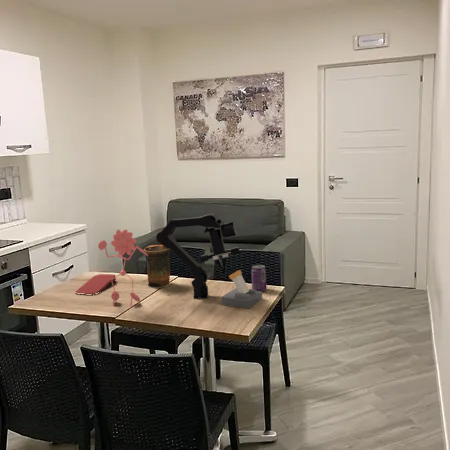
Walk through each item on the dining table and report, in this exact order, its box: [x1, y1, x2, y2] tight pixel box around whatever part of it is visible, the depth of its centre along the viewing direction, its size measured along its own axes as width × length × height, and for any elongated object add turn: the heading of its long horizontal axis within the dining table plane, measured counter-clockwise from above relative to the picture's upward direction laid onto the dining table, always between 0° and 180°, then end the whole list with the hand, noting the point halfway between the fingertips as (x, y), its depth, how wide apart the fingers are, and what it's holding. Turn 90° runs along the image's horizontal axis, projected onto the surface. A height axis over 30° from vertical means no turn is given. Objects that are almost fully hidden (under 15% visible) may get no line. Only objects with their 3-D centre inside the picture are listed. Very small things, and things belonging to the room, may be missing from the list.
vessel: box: [143, 244, 172, 289], centre depth 254 cm, size 14×14×20 cm
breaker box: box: [220, 287, 263, 309], centre depth 222 cm, size 14×14×5 cm
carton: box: [75, 273, 117, 294], centre depth 255 cm, size 12×5×25 cm
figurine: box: [97, 229, 148, 307], centre depth 227 cm, size 15×26×35 cm, turn 73°
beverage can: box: [251, 264, 267, 292], centre depth 237 cm, size 7×7×12 cm
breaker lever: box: [228, 269, 250, 294], centre depth 221 cm, size 3×6×10 cm, turn 151°
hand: (224, 272), depth 226 cm, fingers closed
